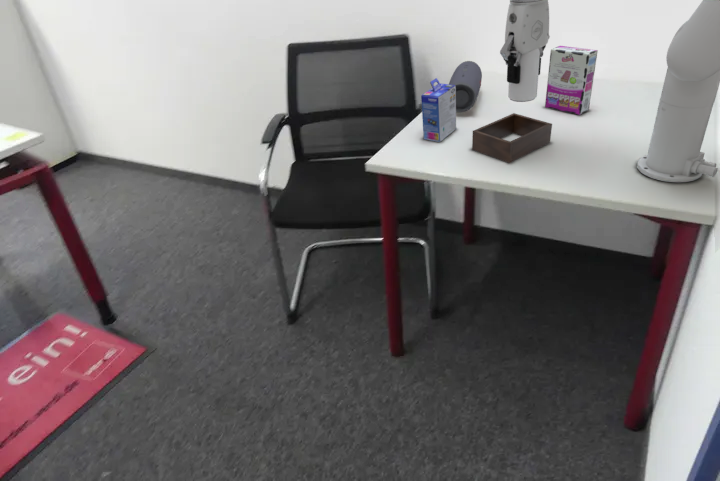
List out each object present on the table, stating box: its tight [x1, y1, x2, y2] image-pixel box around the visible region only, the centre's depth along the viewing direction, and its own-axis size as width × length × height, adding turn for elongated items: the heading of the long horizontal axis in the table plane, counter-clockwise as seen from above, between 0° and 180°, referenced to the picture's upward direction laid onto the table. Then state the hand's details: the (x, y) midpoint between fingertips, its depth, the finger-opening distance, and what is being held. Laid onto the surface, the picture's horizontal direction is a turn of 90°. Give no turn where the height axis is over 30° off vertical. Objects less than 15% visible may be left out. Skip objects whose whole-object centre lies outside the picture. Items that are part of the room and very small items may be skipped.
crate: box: [471, 112, 553, 164], centre depth 132 cm, size 12×16×5 cm
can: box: [507, 48, 541, 103], centre depth 123 cm, size 6×6×12 cm
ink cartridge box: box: [420, 78, 457, 143], centre depth 140 cm, size 10×6×14 cm, turn 146°
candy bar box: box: [544, 45, 599, 116], centre depth 147 cm, size 11×5×16 cm, turn 42°
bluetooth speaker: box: [448, 60, 483, 113], centre depth 159 cm, size 23×9×10 cm, turn 165°
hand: (523, 77), depth 124 cm, fingers closed on can, 6 cm apart
